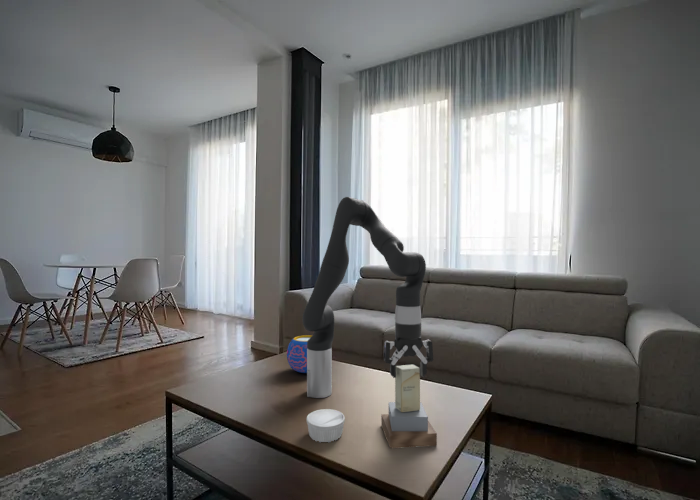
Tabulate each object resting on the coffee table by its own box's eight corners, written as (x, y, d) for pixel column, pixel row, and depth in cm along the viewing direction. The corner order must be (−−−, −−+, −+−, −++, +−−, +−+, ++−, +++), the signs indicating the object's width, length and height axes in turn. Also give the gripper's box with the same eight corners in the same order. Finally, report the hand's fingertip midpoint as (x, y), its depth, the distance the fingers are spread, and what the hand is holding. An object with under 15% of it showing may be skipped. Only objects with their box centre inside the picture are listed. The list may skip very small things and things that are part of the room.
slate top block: (391, 431, 101) (391, 416, 101) (388, 415, 111) (388, 402, 111) (427, 431, 101) (427, 417, 101) (421, 415, 111) (421, 402, 111)
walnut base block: (390, 450, 99) (390, 435, 99) (381, 427, 112) (381, 414, 112) (436, 447, 100) (436, 433, 100) (422, 425, 113) (422, 412, 113)
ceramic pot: (333, 368, 167) (333, 335, 167) (313, 380, 150) (313, 344, 150) (300, 363, 174) (300, 332, 174) (278, 375, 158) (278, 340, 158)
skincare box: (401, 413, 103) (401, 369, 104) (394, 407, 107) (394, 365, 108) (421, 410, 105) (420, 367, 106) (413, 404, 109) (413, 363, 110)
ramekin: (340, 447, 100) (340, 427, 100) (301, 443, 101) (301, 424, 101) (347, 427, 111) (347, 410, 111) (312, 424, 112) (312, 407, 113)
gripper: (386, 323, 101) (387, 382, 101) (436, 322, 103) (436, 380, 103) (381, 318, 109) (381, 373, 109) (427, 317, 110) (427, 371, 110)
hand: (408, 376), depth 106 cm, fingers open, 8 cm apart
